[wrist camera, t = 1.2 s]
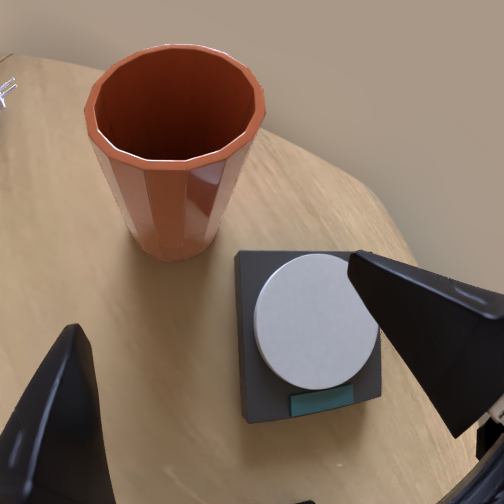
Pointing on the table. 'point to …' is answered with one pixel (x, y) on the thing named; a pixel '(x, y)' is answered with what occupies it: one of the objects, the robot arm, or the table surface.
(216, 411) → the table surface
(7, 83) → the charger
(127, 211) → the tumbler
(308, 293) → the scale
